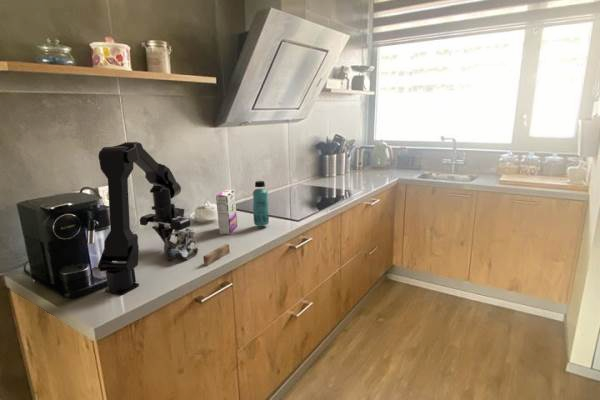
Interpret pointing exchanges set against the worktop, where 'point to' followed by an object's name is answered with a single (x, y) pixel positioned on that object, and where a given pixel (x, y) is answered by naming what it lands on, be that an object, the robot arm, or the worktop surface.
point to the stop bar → (216, 254)
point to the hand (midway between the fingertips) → (167, 244)
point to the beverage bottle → (260, 205)
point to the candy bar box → (226, 211)
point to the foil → (182, 240)
